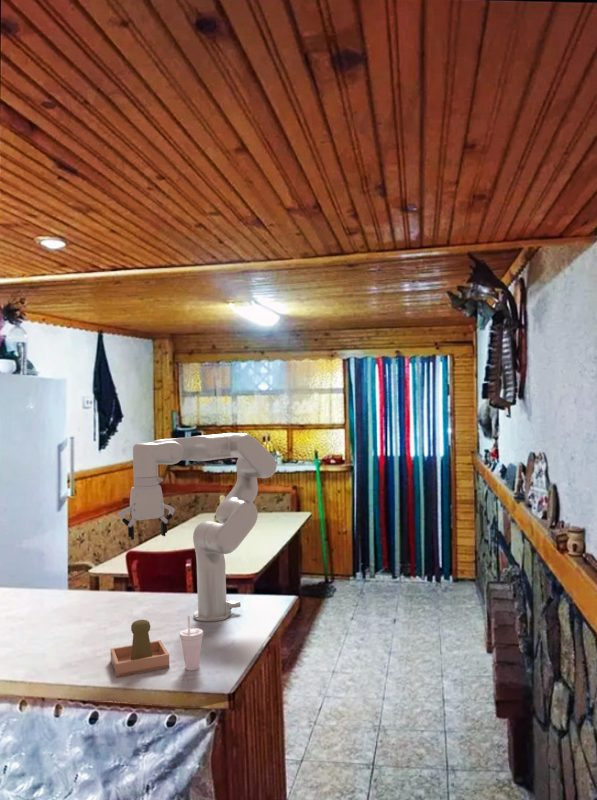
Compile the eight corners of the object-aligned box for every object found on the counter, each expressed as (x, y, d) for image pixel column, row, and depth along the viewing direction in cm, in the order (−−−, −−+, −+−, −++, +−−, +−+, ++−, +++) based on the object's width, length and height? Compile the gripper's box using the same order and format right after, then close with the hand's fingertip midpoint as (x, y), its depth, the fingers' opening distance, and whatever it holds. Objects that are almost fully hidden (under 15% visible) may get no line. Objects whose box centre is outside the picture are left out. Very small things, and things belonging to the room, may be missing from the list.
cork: (147, 665, 176) (146, 625, 176) (126, 664, 177) (125, 624, 177) (156, 656, 182) (155, 617, 182) (136, 655, 183) (134, 617, 183)
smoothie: (181, 663, 179) (180, 612, 179) (205, 662, 180) (203, 611, 180) (179, 673, 173) (177, 620, 173) (203, 671, 173) (202, 619, 173)
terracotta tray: (160, 652, 188) (160, 640, 188) (169, 667, 177) (169, 654, 177) (110, 661, 182) (110, 648, 182) (116, 677, 171) (116, 664, 171)
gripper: (171, 479, 209) (172, 532, 209) (116, 483, 203) (117, 538, 203) (176, 481, 202) (178, 536, 202) (119, 485, 196) (121, 542, 196)
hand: (147, 537), depth 202 cm, fingers open, 9 cm apart
